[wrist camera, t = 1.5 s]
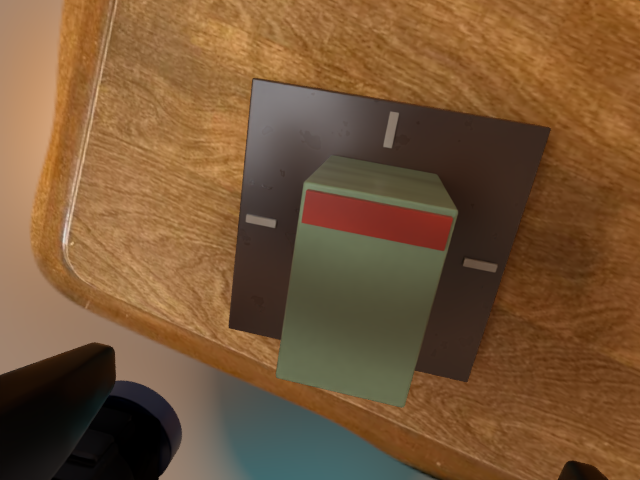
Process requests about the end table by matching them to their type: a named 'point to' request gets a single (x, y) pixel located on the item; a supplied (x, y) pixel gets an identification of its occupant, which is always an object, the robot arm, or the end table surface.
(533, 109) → the end table surface
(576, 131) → the end table surface
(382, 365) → the box
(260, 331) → the plate
